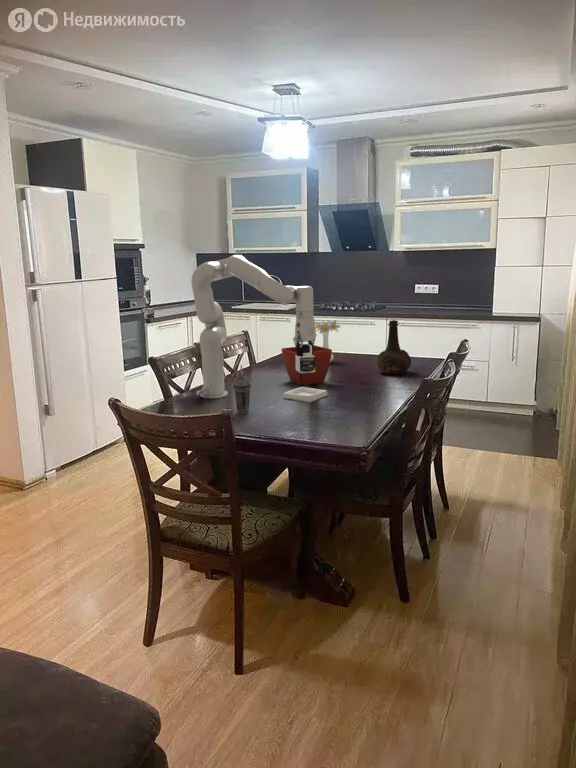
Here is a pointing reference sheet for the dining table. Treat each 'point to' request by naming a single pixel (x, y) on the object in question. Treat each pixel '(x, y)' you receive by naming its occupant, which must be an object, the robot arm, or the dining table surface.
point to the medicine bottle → (305, 360)
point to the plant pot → (315, 377)
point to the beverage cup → (242, 393)
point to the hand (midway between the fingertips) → (305, 354)
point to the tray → (305, 394)
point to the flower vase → (326, 331)
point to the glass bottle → (393, 354)
